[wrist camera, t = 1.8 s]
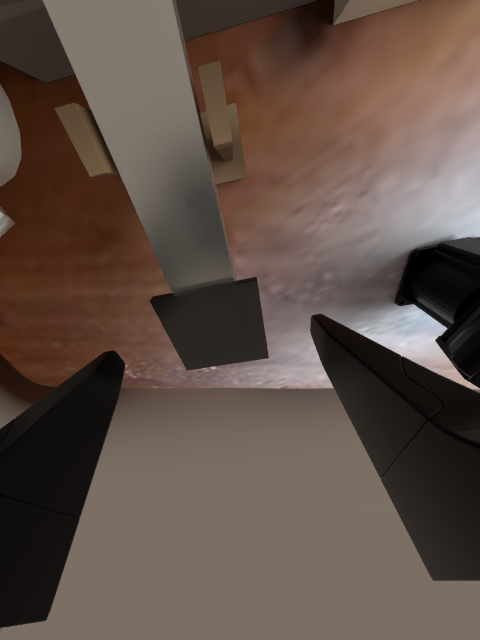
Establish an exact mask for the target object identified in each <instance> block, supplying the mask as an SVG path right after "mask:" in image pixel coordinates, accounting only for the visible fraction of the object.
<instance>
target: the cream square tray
mask: <svg viewBox="0 0 480 640" xmlns="http://www.w3.org/2000/svg"><path fill="white" fill-rule="evenodd" d="M415 1H418V0H334V19H333V25H336V24H339V23H343V22H346V21H349V20H353V19H356V18H360V17H363V16H367V15H370V14H374V13H377V12H380V11H384V10H387V9H391V8H394V7H398V6H401V5H405V4H408V3H411V2H415Z"/></svg>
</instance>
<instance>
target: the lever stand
mask: <svg viewBox="0 0 480 640" xmlns="http://www.w3.org/2000/svg"><path fill="white" fill-rule="evenodd" d="M198 70H199V75H200V80H201V85H202V90H203V95H204V100H205V105H206V110H207V111H204V112H200V114H201V119H202V123H203V128H204V132H205V137H206V142H207V146H208V151H209V155H210V160H211V165H212V169H213V174H214V178H215V183H216V184H220V183H225V182H229V181H233V180H238V179H242V178H246V173H245V165H244V158H243V151H242V144H241V137H240V130H239V122H238V115H237V108H236V103H233V104H230V105H227V102H226V96H225V90H224V83H223V77H222V71H221V64H220V60H219V61H216V62H212V63H209V64H205V65H202V66H199V67H198ZM55 110H56V112H57V114H58V116H59V118H60V120H61V122H62V124H63V126H64V128H65V130H66V132H67V133H68V135H69V137H70V139H71V141H72V143H73V145H74V147H75V149H76V151H77V153H78V155H79V157H80V158H81V160H82V162H83V164H84V166H85V168H86V170H87V172H88V174H89V176H90V177H108V176H120V173H119V171H118V169H117V167H116V164H115V162H114V160H113V158H112V155H111V153H110V151H109V149H108V146H107V144H106V142H105V140H104V137H103V135H102V133H101V131H100V128H99V126H98V124H97V122H96V119H95V117H94V115H93V113H92V111H91V110H89V109H87V108H85V107H82V106H80V105H78V104H76V103H71V104H67V105H64V106H60V107H57V108H55Z"/></svg>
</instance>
